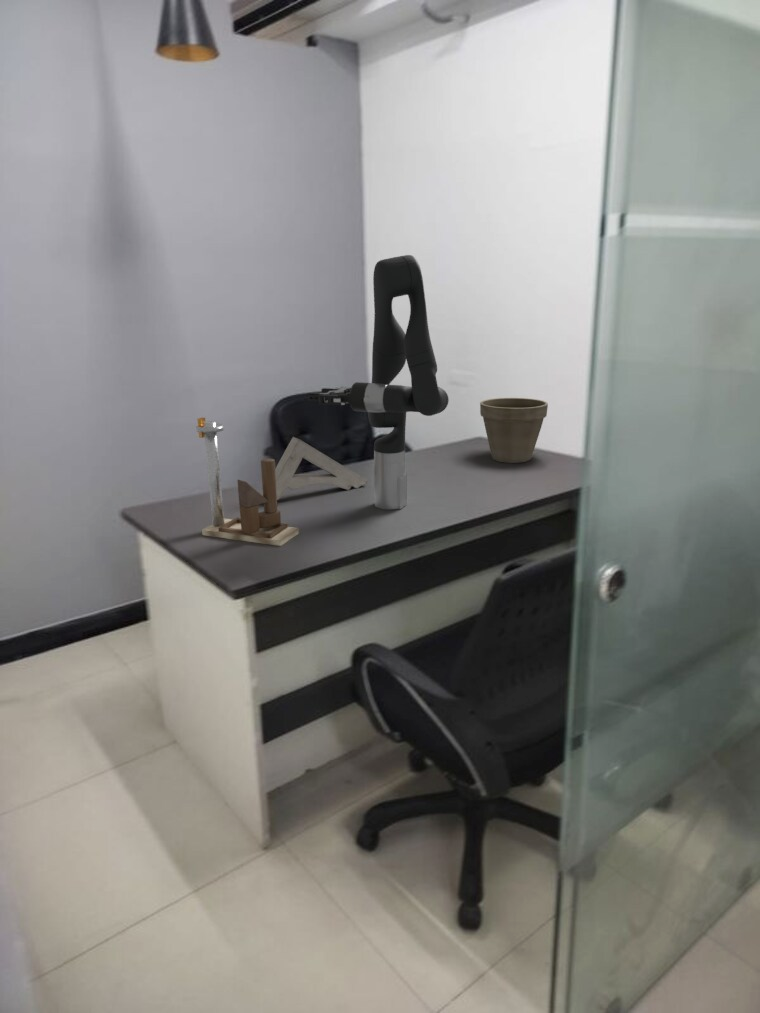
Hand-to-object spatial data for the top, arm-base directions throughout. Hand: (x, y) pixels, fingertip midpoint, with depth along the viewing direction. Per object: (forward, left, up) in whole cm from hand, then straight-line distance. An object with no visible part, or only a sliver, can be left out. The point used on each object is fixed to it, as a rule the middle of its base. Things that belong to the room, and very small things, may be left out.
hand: (315, 394), depth 183 cm
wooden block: (+9, +16, -34) cm, 39 cm away
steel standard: (+23, +16, -36) cm, 46 cm away
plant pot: (-38, -89, -36) cm, 103 cm away
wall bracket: (+13, -23, -36) cm, 45 cm away
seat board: (+13, +16, -36) cm, 42 cm away
